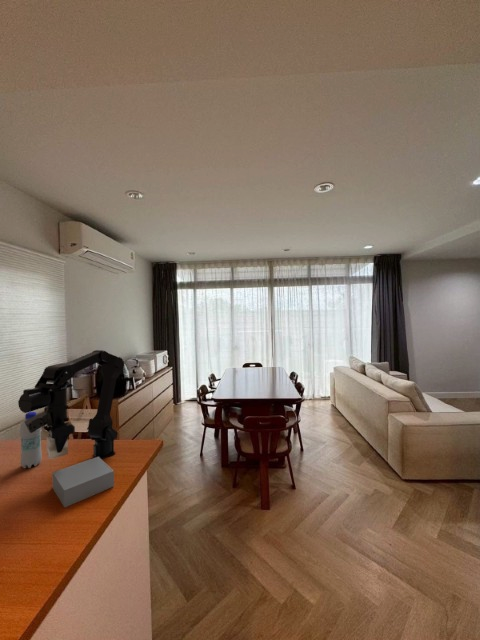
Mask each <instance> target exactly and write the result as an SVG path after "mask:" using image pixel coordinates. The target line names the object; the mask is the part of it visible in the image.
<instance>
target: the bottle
mask: <svg viewBox="0 0 480 640" xmlns="http://www.w3.org/2000/svg"><path fill="white" fill-rule="evenodd" d="M36 415H38V414H37V412H36V411H31V412H28V413H25V416H24V417H25V418H24V420H23V421H21V423H20V427H19V436H20V450H21V451H20V465H21V467H22V468H23V469H26V468H28V469H30V468H32V466H34V467H37V466H38V465H39V464H40V463H41V462H42V445H41V444H42V443H41V441H42V439H41V438H42V437H41V436H42V435H41V434H42V428H43V427H41V428H39V429H37V430H36V431H35V432H33V433H30V432H29V430H28V428H27V426H26V424H25V421H26V420H28V419H30V418H32V417H34V416H36Z"/></svg>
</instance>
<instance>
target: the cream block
mask: <svg viewBox="0 0 480 640" xmlns="http://www.w3.org/2000/svg"><path fill="white" fill-rule="evenodd" d="M68 439H69V438H68ZM68 439H67V441H66V443H65V445H64V447H63V449H62V451H61V452H59V453H57V449H56V445H55V440H54V439H53V438H51V437H50V436H49V435H46V455H47V457H48V459H49V460H52V459H57V458H60V457H63V456H66V455H68V454H69V452H68V451H69V444H68V443H69V442H68V441H69V440H68Z"/></svg>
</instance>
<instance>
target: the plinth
mask: <svg viewBox="0 0 480 640" xmlns="http://www.w3.org/2000/svg"><path fill="white" fill-rule="evenodd" d="M113 487H115V470H113V469H112V467H110V466H109V465H108V464H107V463H106V462H105V461H104V460H103V458H102V459H101V458H99V457H93V458H90V459H87V460H85V461H81V462H79V463H76V464H73V465H70V466H66V467H64V468H61V469H59V470H56V471H53V472H52V489H53V491H54V493H55V495H56V496H57V498H58V500H59V501H60V503H61V504H62V506H63V508H67V507H69V506H71V505H74V504H76V503H79V502H81V501H83V500H85V499H88V498H90V497H93V496H95V495H97V494H99V493H102V492H104V491H106V490H108V489H110V488H113Z"/></svg>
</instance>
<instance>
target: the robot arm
mask: <svg viewBox="0 0 480 640" xmlns="http://www.w3.org/2000/svg"><path fill="white" fill-rule="evenodd" d="M95 364H97V365H99V366H100V367H101V369H100V372H101V374H102V377H103V381H102V385H101V389H100V393H99V394H100V395H99V399H98V400H99V401H98V404H97V411H96V413H95V415H94V417H92V418H89V421H88V426H87V429H86V430H87V434H88V436H89V437H90V439H91V440H92V441H94V444H93V445H92V446H93V453H92V455H93V456H94V458H96V457H99V458H101V459H102V460H103V459H105V458H108V457H111V456H114V455H116V451H115V448H114V447H115V446H114V443H115V439H117V438H118V435H119V433H118V431H117V430H115V429H114V428H113V423H114V421H113V419H112V416H111V412H112V411H111V410H112V405H113V399H114V394H115V388H116V383H117V380H118V378H119V377H120V375H122V373H123V369H124V365H125V361H124V359H123V358H122V357H121V356H116V355H114V354H112V353H109V352H108V351H106V350H103V349H102V350H99V349H98V350H97V349H96V350H93V351H92V352H89V353H86V354H85V355H82V356H79V357H78V358H76V359H73V360H70V361H67V362H63V363H56V364H52V365H48V366H46V367H45V368H44V369H43V372H42V374H41V376H40V377H39V379H38V380H37V382H36V384H35V385H34V388H28V389H26V388H25V389H23V390H22V391H23V393H22V394H21V395H20V397H19V400H17V401H18V402H17V403H18V409H19V410H20V411H21V412H22V413H24V414H27V413H29V412H35V411H37V410H40V409H43V410H44V411H43V412H41V413H38V414H37V415H36V416H34V417H32V418H30V419H28V420H26V419H25V420H26V421H25V424H26V426H27V428H28V430H29V432H30V433H33V432H35V431H36V430H37V429H39V428H41V427H42V428H44V430H45V431H46V432H48V433H49V434H48V436H50V437H51V438H53V439H54V440H55V445H56V449H57V453H59V452H61V451H62V449H63V447H64V445H65V443H66V441H67V439H69V437H70V435H73V434H75V432H76V429H75V427H76V426H75V425H74V424H73V423H71V422H70V419H69V418H70V417H68V410H69V405H68V390H67V389H68V388H72V387H74V386H73V383H71V382H69V381H70V380H71V379H72V378H74V376H75V375H76V374H77V373H78V372H80V371H83V370H85V369H86V368H87V369H88V368H89V367H91V366H93V365H95Z"/></svg>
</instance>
